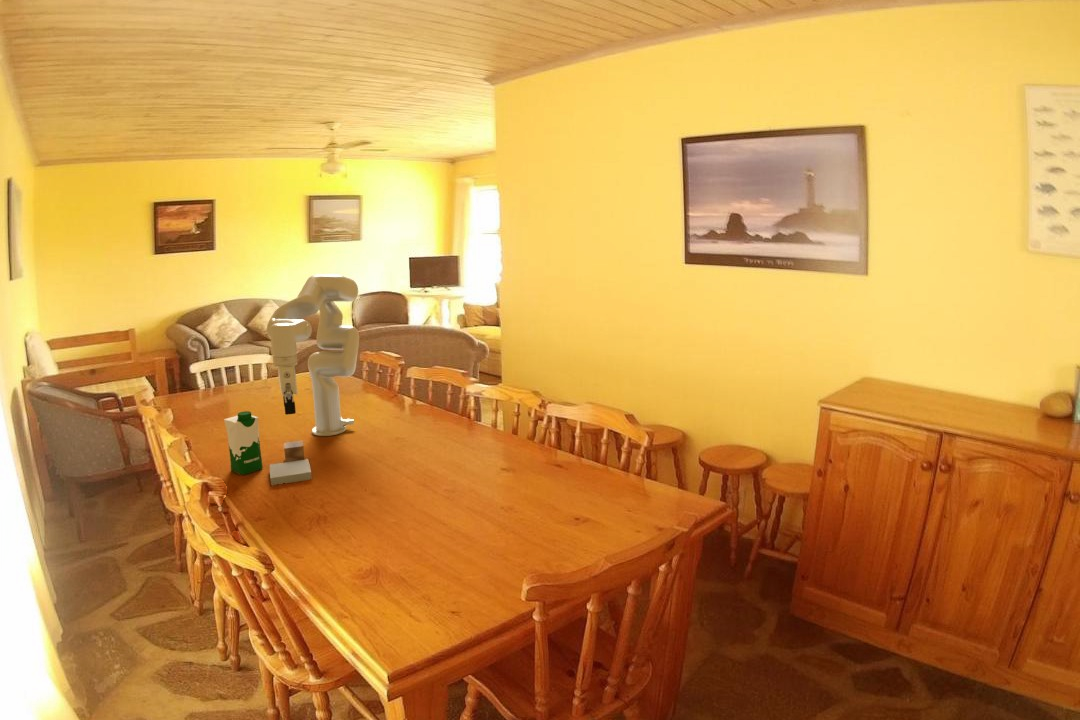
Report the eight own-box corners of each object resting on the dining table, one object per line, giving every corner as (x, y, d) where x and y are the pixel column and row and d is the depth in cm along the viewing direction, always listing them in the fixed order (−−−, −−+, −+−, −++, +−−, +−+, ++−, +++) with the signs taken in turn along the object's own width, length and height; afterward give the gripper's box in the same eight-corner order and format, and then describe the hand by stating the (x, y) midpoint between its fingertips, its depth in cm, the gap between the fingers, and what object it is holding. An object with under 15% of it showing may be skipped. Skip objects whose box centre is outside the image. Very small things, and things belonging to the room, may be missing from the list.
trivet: (308, 466, 213) (308, 459, 212) (311, 479, 202) (311, 472, 202) (270, 471, 208) (269, 464, 208) (271, 485, 197) (270, 478, 197)
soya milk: (242, 477, 204) (235, 418, 199) (226, 471, 209) (219, 413, 204) (267, 468, 211) (261, 411, 206) (251, 462, 216) (245, 406, 211)
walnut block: (303, 456, 221) (302, 440, 220) (304, 462, 216) (303, 446, 215) (285, 459, 219) (283, 442, 218) (285, 465, 214) (284, 448, 212)
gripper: (298, 364, 203) (303, 415, 207) (295, 354, 219) (300, 402, 223) (273, 366, 200) (278, 418, 204) (272, 356, 216) (277, 404, 220)
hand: (289, 409), depth 213 cm, fingers open, 9 cm apart
